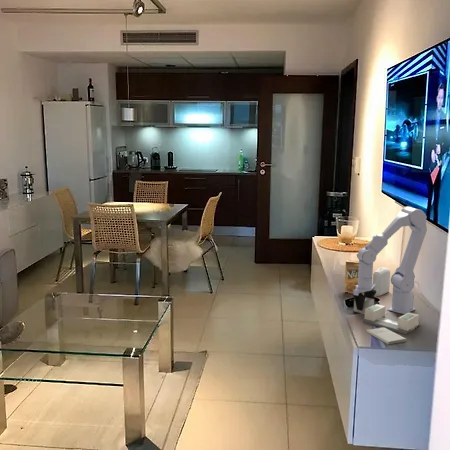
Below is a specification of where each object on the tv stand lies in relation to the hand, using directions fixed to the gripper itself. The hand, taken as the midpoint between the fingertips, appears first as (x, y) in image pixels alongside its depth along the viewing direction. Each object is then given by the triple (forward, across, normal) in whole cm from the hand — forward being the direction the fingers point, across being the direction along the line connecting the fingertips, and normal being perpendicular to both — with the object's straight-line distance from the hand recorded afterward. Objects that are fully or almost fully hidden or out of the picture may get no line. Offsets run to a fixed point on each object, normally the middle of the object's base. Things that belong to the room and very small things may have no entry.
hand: (363, 308), depth 214 cm
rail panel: (+2, +5, +15) cm, 16 cm away
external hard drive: (+2, +18, +20) cm, 27 cm away
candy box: (+2, -21, -17) cm, 27 cm away
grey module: (+2, 0, 0) cm, 2 cm away
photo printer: (+2, -29, -8) cm, 30 cm away
